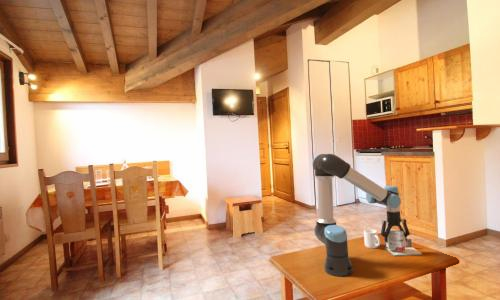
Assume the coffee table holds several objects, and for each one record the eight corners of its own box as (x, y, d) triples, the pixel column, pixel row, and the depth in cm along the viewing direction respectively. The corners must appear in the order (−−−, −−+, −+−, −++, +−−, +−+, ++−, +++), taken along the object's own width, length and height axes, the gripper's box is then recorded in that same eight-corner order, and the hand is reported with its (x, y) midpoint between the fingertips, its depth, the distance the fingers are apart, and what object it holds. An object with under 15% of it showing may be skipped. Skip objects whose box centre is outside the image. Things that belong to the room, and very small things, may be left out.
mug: (385, 249, 169) (384, 233, 169) (375, 251, 167) (373, 235, 167) (372, 243, 181) (370, 228, 181) (362, 245, 178) (360, 230, 179)
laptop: (394, 256, 157) (393, 246, 158) (385, 249, 169) (384, 240, 170) (422, 254, 156) (421, 245, 156) (411, 247, 168) (410, 238, 168)
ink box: (405, 249, 161) (403, 230, 161) (402, 252, 158) (400, 232, 158) (390, 246, 168) (389, 228, 168) (387, 249, 164) (385, 230, 165)
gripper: (377, 213, 160) (380, 250, 160) (414, 211, 159) (417, 248, 158) (372, 210, 168) (375, 245, 167) (408, 208, 166) (411, 244, 166)
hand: (396, 246), depth 163 cm, fingers closed on ink box, 9 cm apart
